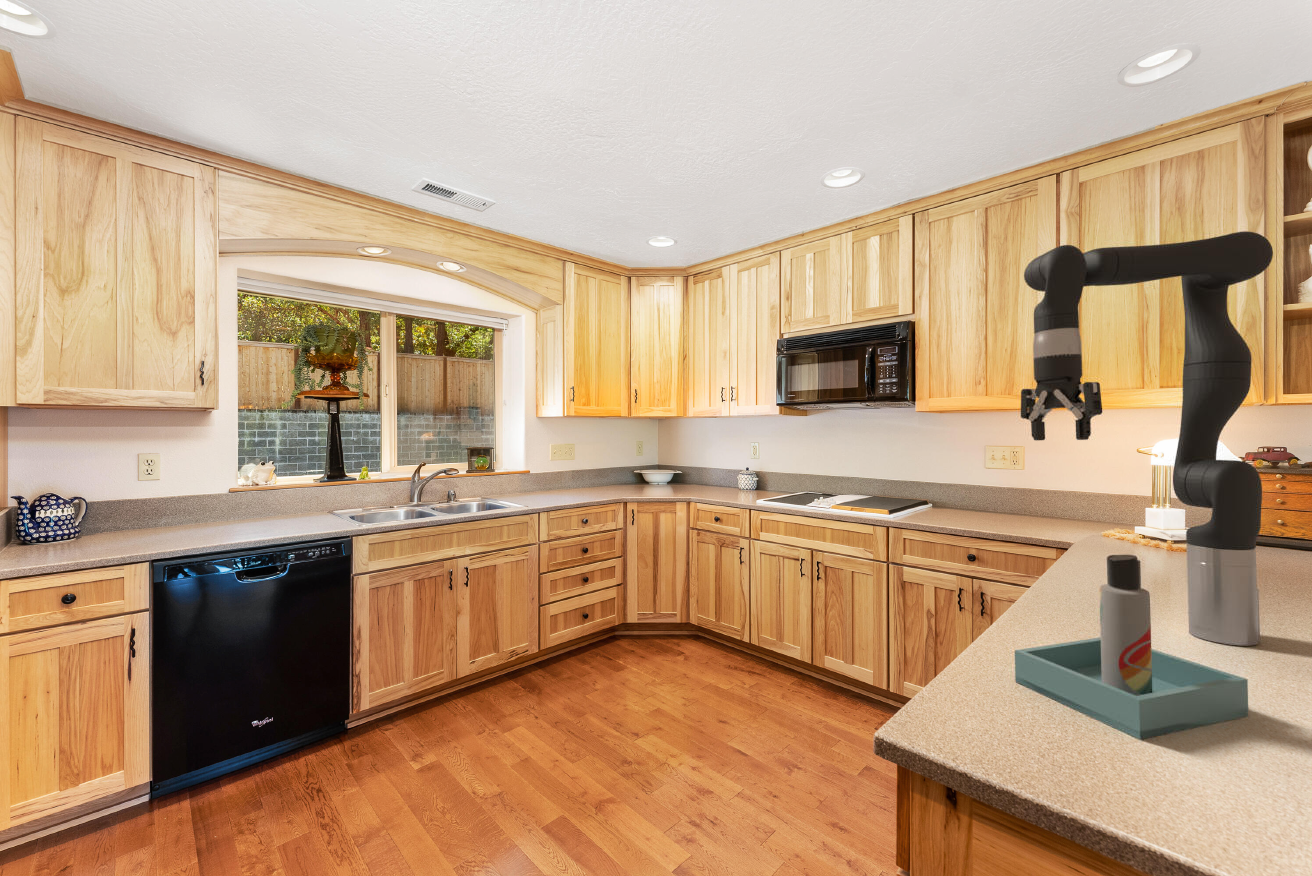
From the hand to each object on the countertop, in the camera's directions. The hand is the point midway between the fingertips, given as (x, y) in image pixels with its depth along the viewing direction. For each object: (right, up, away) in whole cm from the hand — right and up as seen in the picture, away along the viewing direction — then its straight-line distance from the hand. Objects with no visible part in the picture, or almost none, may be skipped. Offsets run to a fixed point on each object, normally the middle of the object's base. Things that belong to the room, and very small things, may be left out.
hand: (1059, 440), depth 107 cm
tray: (-8, -38, -25) cm, 46 cm away
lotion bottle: (-8, -37, -25) cm, 45 cm away
